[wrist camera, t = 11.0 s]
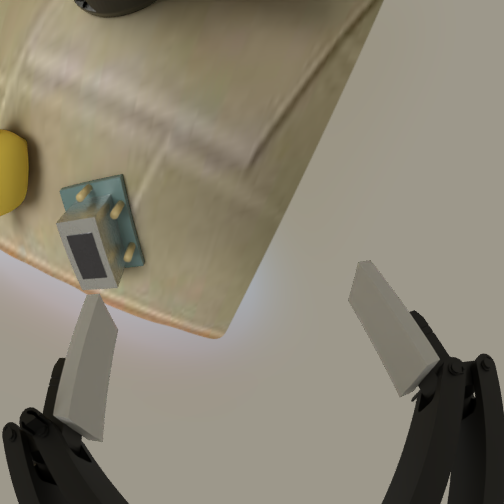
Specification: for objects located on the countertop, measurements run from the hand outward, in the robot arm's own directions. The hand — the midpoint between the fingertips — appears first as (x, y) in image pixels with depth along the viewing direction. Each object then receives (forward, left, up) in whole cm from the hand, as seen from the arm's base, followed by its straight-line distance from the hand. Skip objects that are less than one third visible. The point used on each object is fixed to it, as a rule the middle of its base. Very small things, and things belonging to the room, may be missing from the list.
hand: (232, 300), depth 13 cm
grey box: (+8, -18, -26) cm, 32 cm away
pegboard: (+8, -18, -27) cm, 33 cm away
